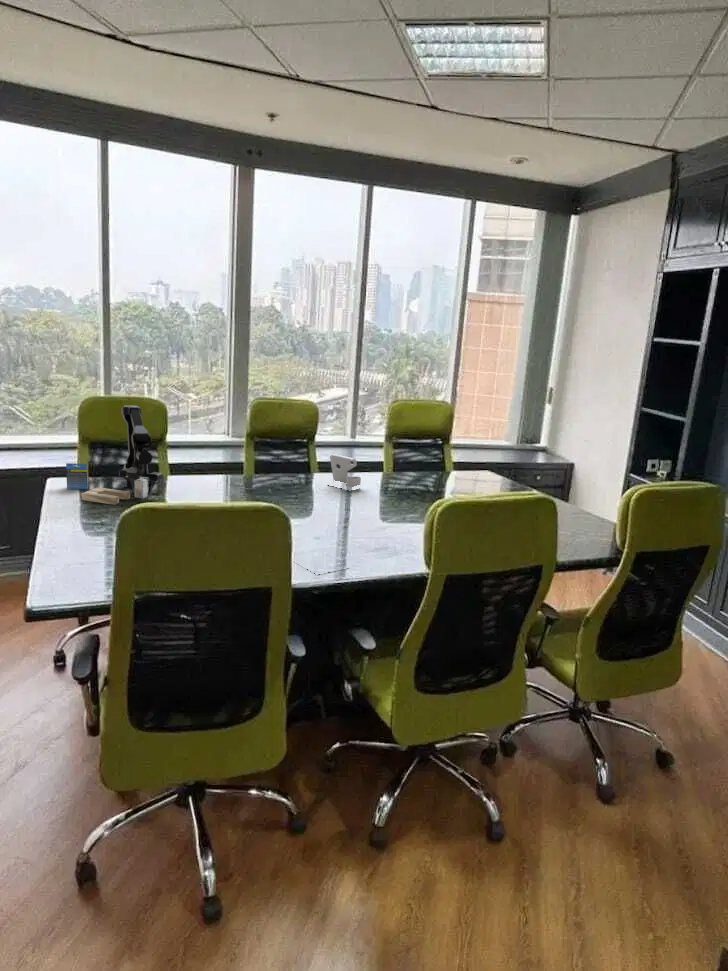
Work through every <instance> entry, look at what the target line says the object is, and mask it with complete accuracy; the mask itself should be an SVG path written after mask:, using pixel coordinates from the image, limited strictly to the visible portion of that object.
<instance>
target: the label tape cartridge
mask: <svg viewBox="0 0 728 971" xmlns="http://www.w3.org/2000/svg"><path fill="white" fill-rule="evenodd" d="M65 464H66V466H65V471H66V474H65V476H66V490H88V488H89V470H88V467H87V466H88V465H87V463H75V462H74V463H65Z"/></svg>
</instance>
